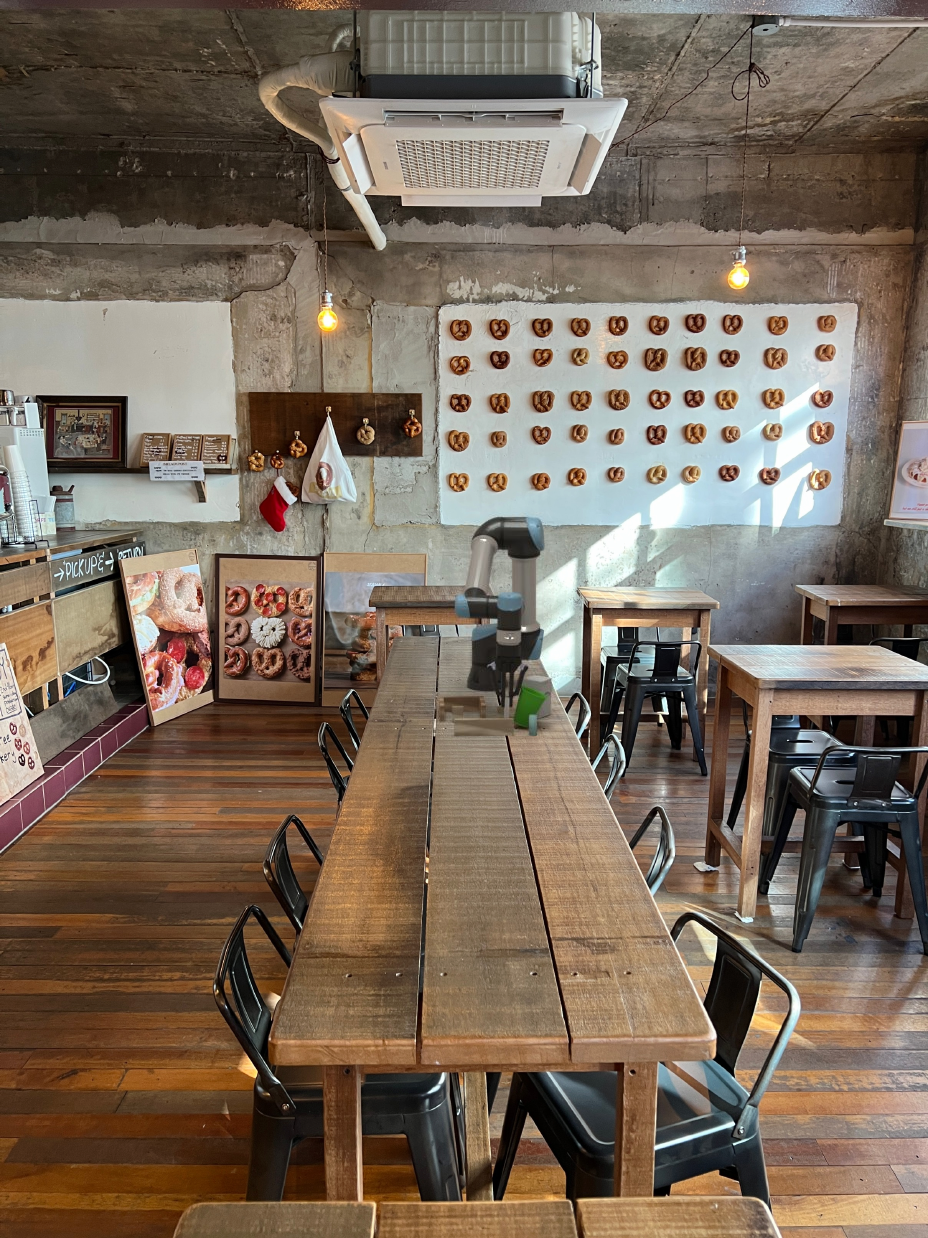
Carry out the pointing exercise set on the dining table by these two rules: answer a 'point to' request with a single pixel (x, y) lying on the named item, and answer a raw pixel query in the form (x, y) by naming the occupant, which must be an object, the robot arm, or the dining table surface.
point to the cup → (527, 705)
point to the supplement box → (544, 687)
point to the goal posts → (532, 725)
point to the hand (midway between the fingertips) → (506, 717)
